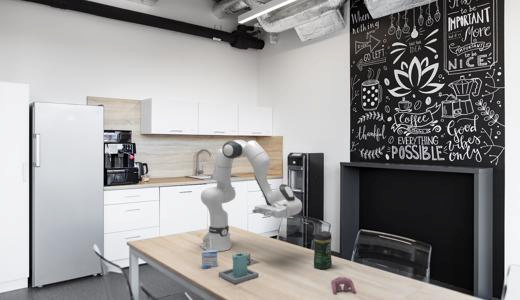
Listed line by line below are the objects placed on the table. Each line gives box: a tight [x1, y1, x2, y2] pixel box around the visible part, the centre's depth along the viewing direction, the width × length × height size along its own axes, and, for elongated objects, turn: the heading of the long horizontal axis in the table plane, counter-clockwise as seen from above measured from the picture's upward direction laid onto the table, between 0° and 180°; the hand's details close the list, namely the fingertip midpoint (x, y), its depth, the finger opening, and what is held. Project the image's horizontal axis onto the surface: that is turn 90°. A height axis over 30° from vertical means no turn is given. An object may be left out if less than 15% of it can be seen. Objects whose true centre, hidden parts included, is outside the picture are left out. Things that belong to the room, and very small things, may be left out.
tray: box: [218, 268, 259, 285], centre depth 177 cm, size 14×14×2 cm
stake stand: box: [245, 253, 262, 267], centre depth 197 cm, size 10×10×5 cm
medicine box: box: [201, 250, 218, 270], centre depth 192 cm, size 8×4×9 cm, turn 105°
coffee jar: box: [313, 230, 333, 270], centre depth 189 cm, size 10×8×19 cm
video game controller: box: [330, 276, 356, 295], centre depth 158 cm, size 10×5×7 cm, turn 94°
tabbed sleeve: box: [231, 252, 248, 278], centre depth 177 cm, size 5×6×10 cm
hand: (258, 212), depth 187 cm, fingers open, 8 cm apart
